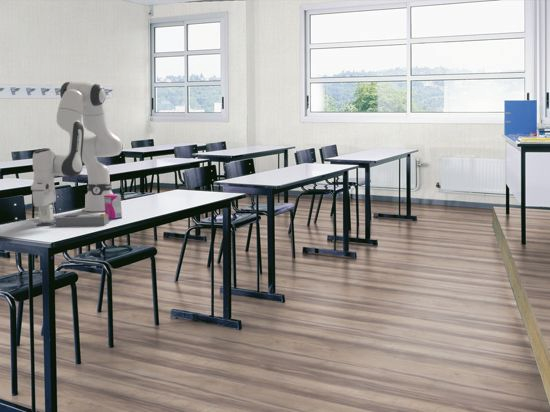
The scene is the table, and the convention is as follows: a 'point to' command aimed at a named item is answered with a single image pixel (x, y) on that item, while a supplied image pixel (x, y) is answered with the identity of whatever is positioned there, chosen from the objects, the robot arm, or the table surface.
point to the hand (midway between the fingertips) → (46, 214)
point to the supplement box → (113, 206)
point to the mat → (46, 224)
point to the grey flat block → (82, 220)
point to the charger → (47, 213)
